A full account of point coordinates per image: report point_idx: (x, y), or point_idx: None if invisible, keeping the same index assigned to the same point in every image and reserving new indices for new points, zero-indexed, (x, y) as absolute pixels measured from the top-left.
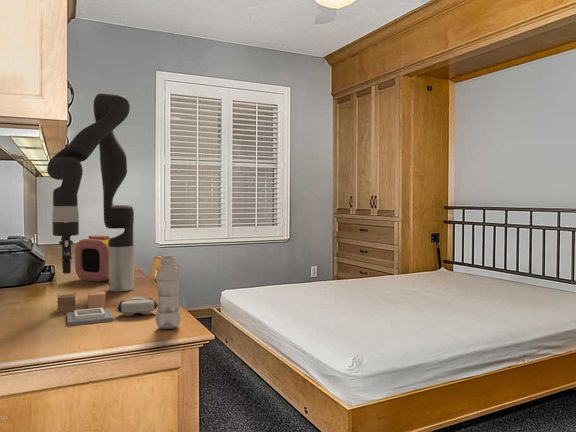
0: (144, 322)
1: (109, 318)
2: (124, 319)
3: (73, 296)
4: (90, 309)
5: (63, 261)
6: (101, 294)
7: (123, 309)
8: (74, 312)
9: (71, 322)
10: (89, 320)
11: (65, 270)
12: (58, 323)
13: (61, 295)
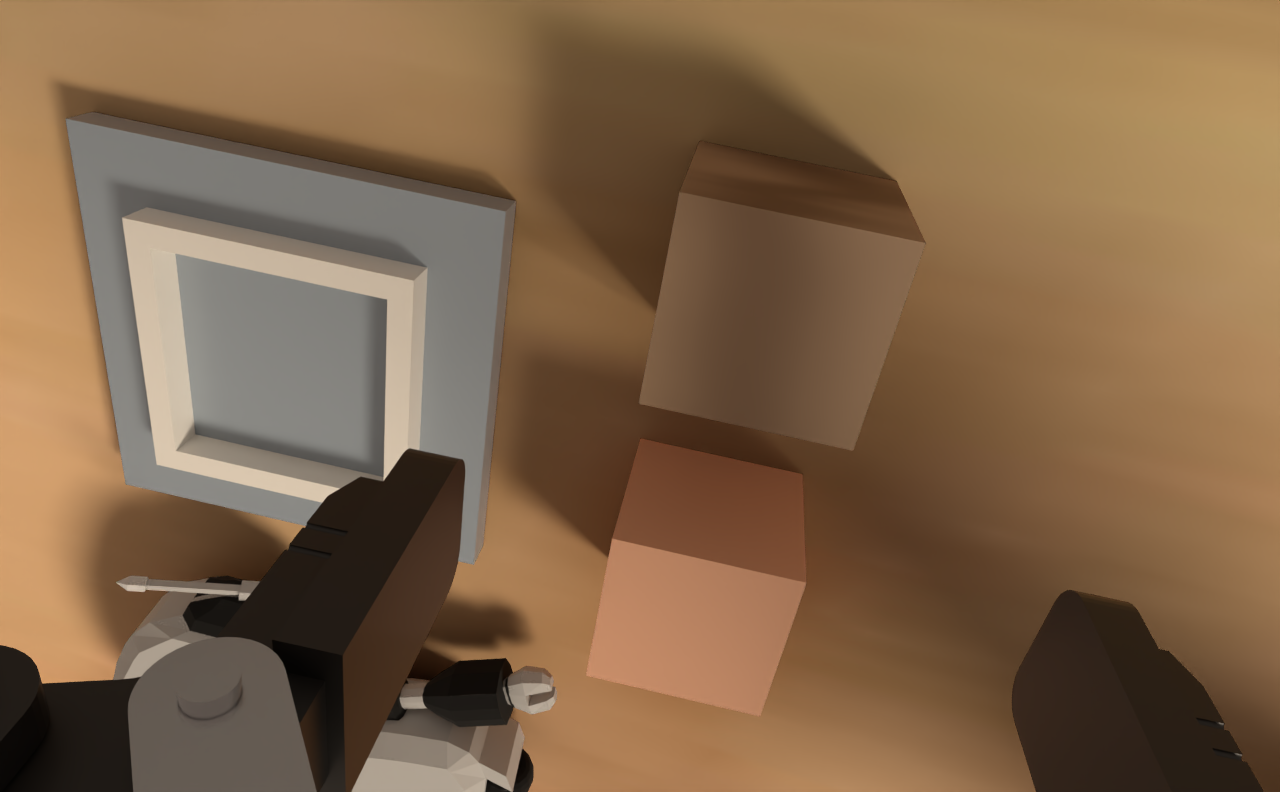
0: (32, 601)
1: (127, 458)
2: (163, 542)
3: (656, 389)
4: (387, 418)
5: (327, 668)
6: (593, 642)
7: (162, 601)
8: (365, 264)
9: (74, 152)
10: (99, 309)
11: (329, 512)
12: (225, 48)
13: (840, 281)
